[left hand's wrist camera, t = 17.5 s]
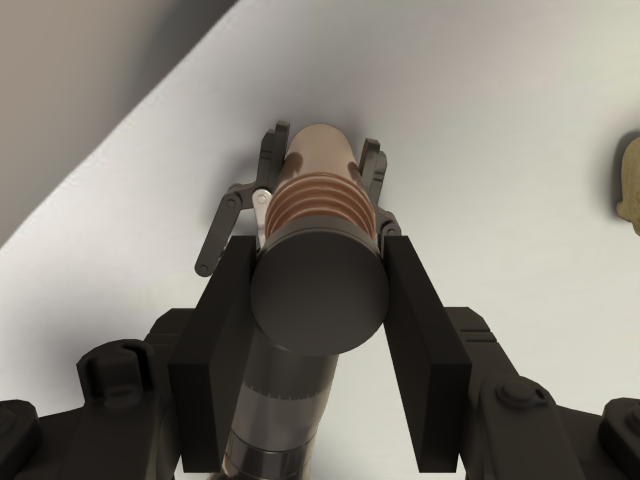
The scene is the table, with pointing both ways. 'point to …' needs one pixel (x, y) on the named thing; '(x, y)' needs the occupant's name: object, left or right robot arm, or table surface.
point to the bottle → (319, 182)
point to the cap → (319, 286)
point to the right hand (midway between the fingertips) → (327, 133)
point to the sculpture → (631, 185)
